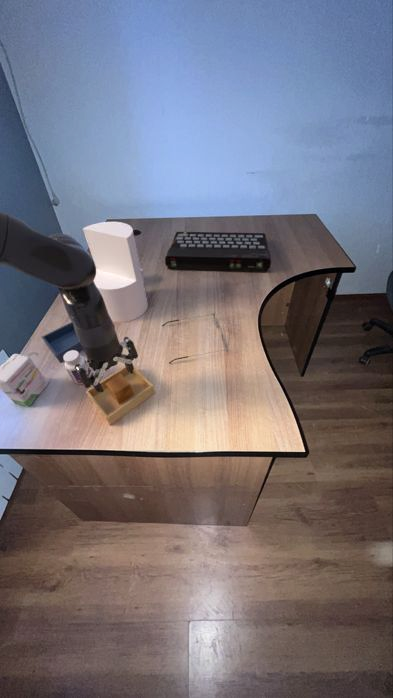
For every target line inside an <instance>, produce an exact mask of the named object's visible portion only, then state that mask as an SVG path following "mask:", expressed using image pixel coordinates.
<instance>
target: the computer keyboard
mask: <svg viewBox="0 0 393 698" xmlns="http://www.w3.org/2000/svg"><path fill="white" fill-rule="evenodd" d="M271 259H272V258H271V254H270V250H269V246H268V240H267V235H266V233H264V232H222V231H221V232H220V231H219V232H216V231H215V232H214V231H211V232H210V231H176V232H175V234H174V237H173V239H172V242H171V244H170V247H169V248H168V250H167V253H166V255H165V258H164V263H165V266H166V268H167V269H169V270H189V271H191V270H192V271H194V270H195V271H219V272H220V271H221V272H222V271H223V272H252V273H253V272H255V273H257V272H259V273H267V272H268V271H269V270H270V269H271V265H272V260H271Z"/></svg>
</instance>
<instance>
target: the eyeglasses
mask: <svg viewBox="0 0 393 698" xmlns="http://www.w3.org/2000/svg"><path fill="white" fill-rule="evenodd" d="M211 315H212V316H213V321H214V325H215V327H216V328H219V329H220V331H221V342H222V345H223V347H224V351H228V350H229V346H228V341H227V337H226V336H225V334H224V331H223V328H222V325H221V323H219V318H218V316H217V313H216V312H213V313H210V314H209V316H211ZM199 317H202V315H201V316H200V315H199V316H198V318H199ZM203 317H207V314H206V315H203ZM195 318H196V316H194V317H192V319H195ZM189 319H190V317H188V318H186V320H189ZM182 320H185V318H182V319H181V321H182ZM174 322H180V319H174V320H168V321H167V322H165V323H163V324H162V325H161V326H162V327H165V325H167V324H169V323H174ZM222 351H223V349H221V350H219V352H222ZM216 352H218V350H215V351H214V353H216ZM211 353H213V351H209V354H211ZM206 354H208V352H205V353H203V355H206ZM200 355H201V356H202V353H199V354H198V356H200ZM190 357H192V355H189V356H188V355H187V356H182V357H176V358H173V359H172V360H171V361H169V362H168V364H172V363H173V362H175V361H177V360H182V359H187V358H188V359H189V358H190ZM193 357H197V354H194V355H193Z"/></svg>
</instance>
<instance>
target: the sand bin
mask: <svg viewBox="0 0 393 698" xmlns="http://www.w3.org/2000/svg"><path fill="white" fill-rule="evenodd" d="M133 367H134V370H133V373H131V374H130V373H129V372H128V371H127V369H126V366H125V365H124V366H122V367H121V368H120V369H118V370H116V371H115V372H113V373H112V374H110V375H109V376H107V377H106V378H103V379H102V380H100V381H99V382H100V384H101V386H102V388H103V390H104V391H103V392H102V393H101V392H97V391H96V390H95V388H94V387H93V386H90V387H89V388H87V390H85V393H86V395H87V396H88V398H89V400H90V401H91V402H92V403H93V405H94V406H95V407H96V409H97V410H98V411H99V413H100V414H101V416H102V417H103V418H104V419H105V421H106V422H107V424H108V425H109V426H112V425H113V424H115V423H116V422H117V421H119V420H120V419H122V418H123V417H124V416H125V415H127V414H128V413H130V412H131V411H132V410H134V409H135V408H137V407H138V406H140V405H141V404H142V403H143V402H145V401H146V400H148V399H149V398H150V397H152V396H153V395H155V393H156V391H155V387H154V384H153V383H151V382H150V381H149V380H148V378H146V377H145V375H143V373H142V372H140V371H139V369H138V368H137V367H135V366H134V365H133ZM120 374H121V375H122V376H123V377H124V378H125V379H126V380H127V381H128V382H129V383H130V386H131V388H132V391H133V394H134V395H132V396H131V397H129V398H128V399H126V400H125V401H124V402H122V403H121V404H118V402H117V401H116V400H115V399H114V398H113V396H112V395H111V394H110V392H109V390H108V388H107V386H106V383H107V382H109V381H110V380H112V379H113V378H115V377H116V376H118V375H120Z"/></svg>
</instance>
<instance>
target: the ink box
mask: <svg viewBox="0 0 393 698" xmlns="http://www.w3.org/2000/svg"><path fill="white" fill-rule="evenodd" d="M48 385H49V381H48V380H47V379H46V377H45V376H44V375H43V374H42V372H41V370H40V369H39V368H38V367H37V365H36V364H35V362H34V361H33V360H32V359H31V357H30V356H28V355H27V356H26V355H23V354H19V353H13V354H12V355H11V356H10V357H9V358H8V359H7V360H5V361H4V362H3V363H2V365H0V390H1V392H3V393H4V394H5V395H6V396H7V397H8V398H9V399H10V400H11V401H12V402H13V404H15V405H18V406H22V407H26V408H30V407H31V405H32V404H33V403H34V402H35V401H36V400H37V398H38V397H39V396H40V394H41V393H42V392H43V391H44V389H46V387H47V386H48Z"/></svg>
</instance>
